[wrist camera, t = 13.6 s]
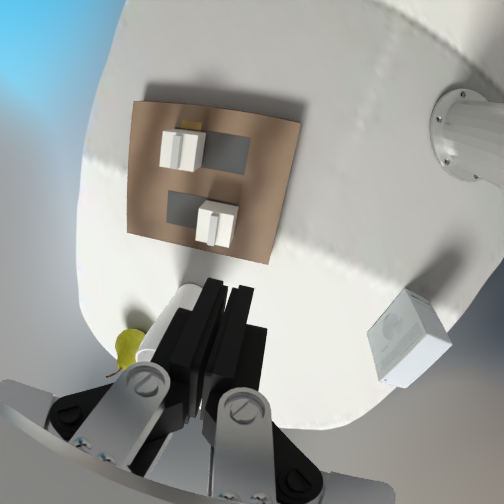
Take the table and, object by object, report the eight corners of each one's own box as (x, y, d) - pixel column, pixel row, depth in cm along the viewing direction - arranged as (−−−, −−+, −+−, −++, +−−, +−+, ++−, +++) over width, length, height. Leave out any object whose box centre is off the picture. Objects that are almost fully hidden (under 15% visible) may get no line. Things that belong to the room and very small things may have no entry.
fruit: (158, 330, 50) (133, 379, 39) (156, 352, 53) (133, 398, 43) (125, 316, 50) (95, 361, 39) (125, 339, 53) (99, 382, 43)
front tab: (206, 132, 30) (195, 136, 27) (201, 166, 32) (190, 173, 29) (173, 128, 31) (159, 131, 27) (169, 161, 33) (156, 168, 29)
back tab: (238, 206, 34) (232, 218, 31) (233, 236, 36) (227, 251, 33) (206, 200, 34) (196, 210, 31) (202, 230, 36) (193, 243, 33)
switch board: (300, 122, 31) (300, 123, 29) (269, 255, 40) (268, 264, 38) (143, 100, 32) (133, 101, 30) (135, 225, 40) (126, 232, 38)
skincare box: (392, 343, 45) (406, 390, 36) (365, 333, 44) (376, 382, 35) (431, 300, 40) (454, 345, 31) (404, 286, 39) (427, 333, 30)
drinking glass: (165, 286, 45) (124, 353, 32) (198, 271, 43) (161, 343, 30) (189, 317, 47) (158, 387, 34) (222, 305, 45) (197, 380, 32)
